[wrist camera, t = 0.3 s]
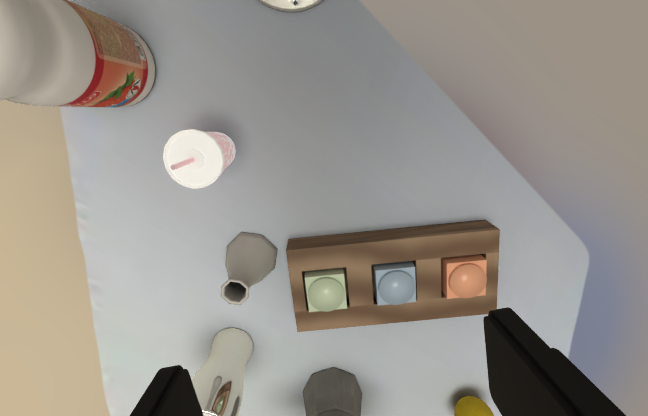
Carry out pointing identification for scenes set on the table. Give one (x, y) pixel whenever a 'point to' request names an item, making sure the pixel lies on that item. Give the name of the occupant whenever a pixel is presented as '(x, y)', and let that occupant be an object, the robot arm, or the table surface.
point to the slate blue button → (394, 283)
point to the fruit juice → (70, 57)
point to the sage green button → (325, 289)
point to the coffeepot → (332, 394)
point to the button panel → (392, 247)
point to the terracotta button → (463, 276)
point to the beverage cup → (198, 157)
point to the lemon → (472, 407)
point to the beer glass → (223, 373)
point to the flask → (246, 265)
